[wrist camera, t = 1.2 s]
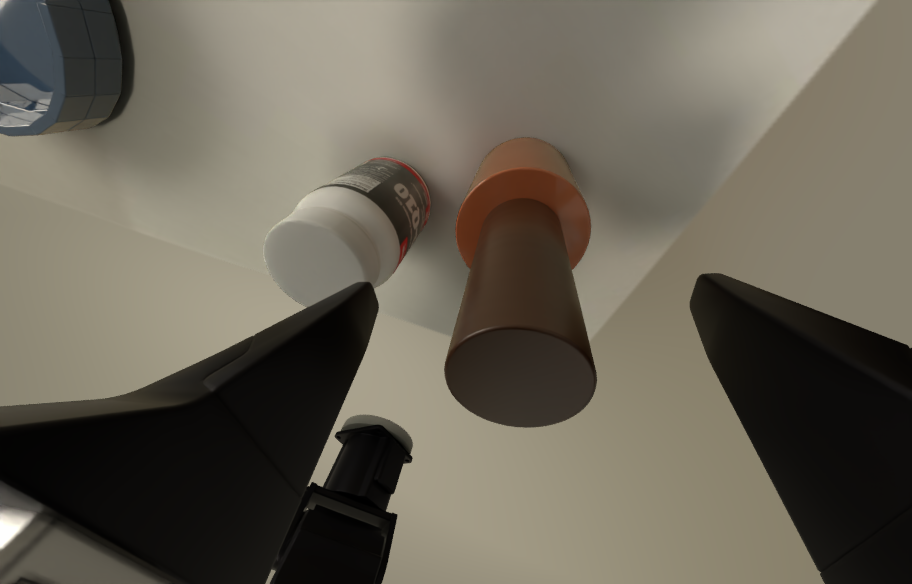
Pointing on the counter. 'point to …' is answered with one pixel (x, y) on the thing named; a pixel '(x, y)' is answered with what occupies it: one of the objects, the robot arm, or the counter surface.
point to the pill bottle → (348, 231)
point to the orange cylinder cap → (524, 193)
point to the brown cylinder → (521, 324)
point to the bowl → (57, 65)
